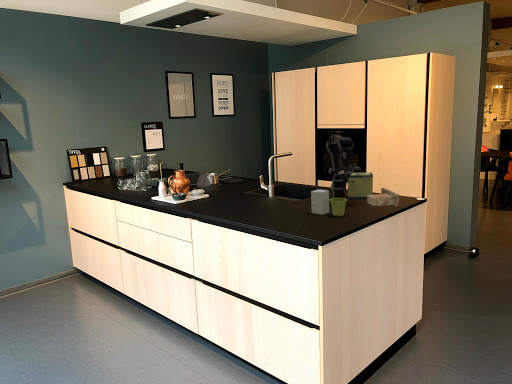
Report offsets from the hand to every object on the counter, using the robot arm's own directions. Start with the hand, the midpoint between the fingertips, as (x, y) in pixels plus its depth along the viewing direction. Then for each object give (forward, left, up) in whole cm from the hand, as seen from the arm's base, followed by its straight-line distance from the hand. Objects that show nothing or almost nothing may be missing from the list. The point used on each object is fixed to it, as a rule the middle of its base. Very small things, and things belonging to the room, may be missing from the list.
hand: (345, 184), depth 253 cm
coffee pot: (-85, +86, -12) cm, 122 cm away
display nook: (+21, -4, -12) cm, 24 cm away
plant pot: (-12, -26, -12) cm, 31 cm away
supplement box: (-20, -18, -12) cm, 30 cm away
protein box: (+15, +16, -12) cm, 25 cm away
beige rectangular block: (+20, -5, -12) cm, 24 cm away
